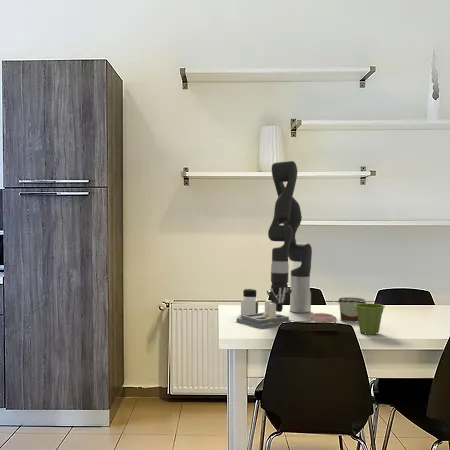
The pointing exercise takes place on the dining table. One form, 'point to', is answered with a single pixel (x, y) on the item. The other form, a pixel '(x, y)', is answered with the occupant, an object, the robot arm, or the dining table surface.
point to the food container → (349, 308)
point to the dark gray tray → (263, 320)
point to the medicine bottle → (249, 302)
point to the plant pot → (369, 317)
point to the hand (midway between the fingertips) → (278, 311)
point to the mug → (323, 317)
